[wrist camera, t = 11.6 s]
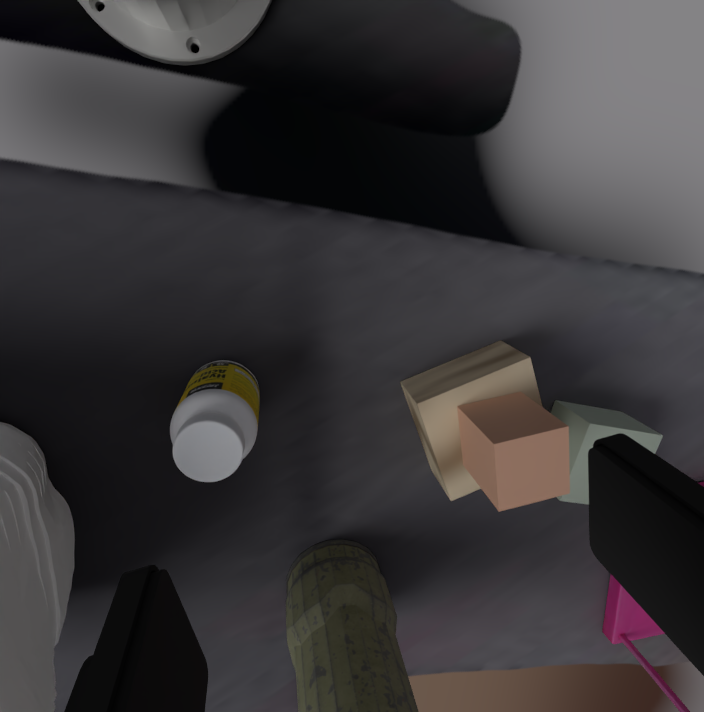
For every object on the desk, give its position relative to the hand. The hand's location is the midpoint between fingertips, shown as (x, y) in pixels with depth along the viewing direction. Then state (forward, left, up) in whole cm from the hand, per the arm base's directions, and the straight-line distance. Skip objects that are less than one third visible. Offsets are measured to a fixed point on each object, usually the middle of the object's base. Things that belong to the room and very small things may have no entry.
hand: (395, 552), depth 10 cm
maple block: (+11, +12, -28) cm, 32 cm away
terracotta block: (+11, +12, -23) cm, 28 cm away
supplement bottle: (+5, -7, -27) cm, 29 cm away
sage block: (+17, +22, -27) cm, 39 cm away
